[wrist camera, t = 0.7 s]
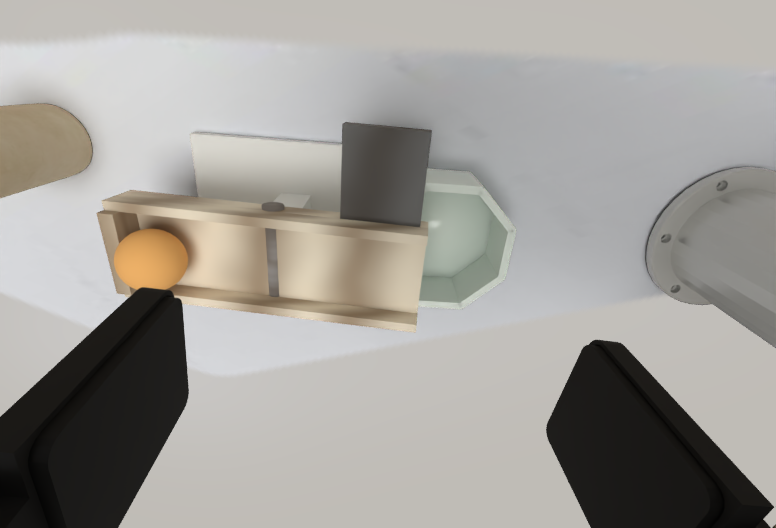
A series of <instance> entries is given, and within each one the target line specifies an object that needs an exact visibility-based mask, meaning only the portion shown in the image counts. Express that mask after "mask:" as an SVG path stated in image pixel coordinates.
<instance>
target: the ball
mask: <svg viewBox="0 0 776 528" xmlns="http://www.w3.org/2000/svg"><path fill="white" fill-rule="evenodd" d="M114 266H115V270H116V272H117V274H118V276H119V277H120V279H121V280H122V281H123V282H124V283H125V284H127V285H128V286H130V287H132V288H134V289H136V290H138V289H139V288H141V287H146V288H155V289H164V290H166V289H168V288H170V287H172V286H174V285H175V284H176V283H178V282H179V281H180V280H181V278H182V277H183V276H184V274H185V272H186V269H187V266H188V255H187V252H186V249H185V247H184V245H183V244H182V242H181V241H180V240H179V239H178V238H176V237H175V236H174V235H172V234H171V233H169V232H166V231H163V230H159V229H142V230H138V231H135V232H133V233H131V234H129V235H128V236H126V237H125V238H124V239H123V240H122V241H121V242H120V243H119V245H118V246H117V248H116V251H115V254H114Z"/></svg>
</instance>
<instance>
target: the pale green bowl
mask: <svg viewBox="0 0 776 528" xmlns="http://www.w3.org/2000/svg"><path fill="white" fill-rule="evenodd" d="M421 221H425V222H428V241H427V246H426V249H425V257H424V265H423V272H422V280H421V288H420V296H419V303H418V307H429V308H444V309H460V310H461V309H463V308H465V307H466V306H467V305H469V304H470V303H472V302H473V301H475V300H476V299H478V298H479V297H481V296H482V295H484V294H485V293H486V292H488V291H489V290H491V289H492V288H494V287H495V286H497V285H498V284H500V283H501V282H503V281H504V279H505V278H506V273H507V269H508V265H509V260H510V256H511V252H512V248H513V243H514V239H515V235H516V231H517V230H516V228H515V227H514V225H513V224H512V223H511V222H510V220H509V219H508V218H507V216H506V215H505V214H504V212H503V211H502V210H501V208H500V207H499V206H498V204H497V203H496V202H495V200H494V199H493V198H492V196H491V195H490V194H489V193H488V191H487V190H486V189H485V187H484V186H483V185H482V184H481V183H480V182H479V181H478V179H477V178H476V177H475V176H474V175H473V174H472V173H471V172H470V171H457V170H444V169H431V168H427V174H426V183H425V191H424V199H423V208H422V216H421Z"/></svg>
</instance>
